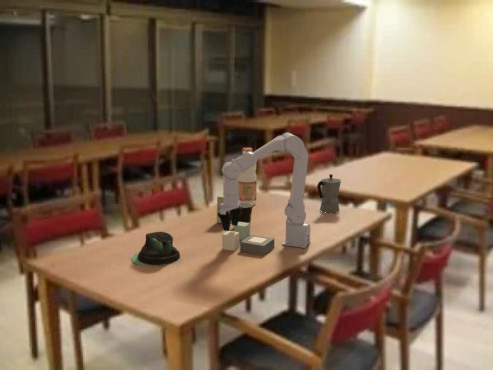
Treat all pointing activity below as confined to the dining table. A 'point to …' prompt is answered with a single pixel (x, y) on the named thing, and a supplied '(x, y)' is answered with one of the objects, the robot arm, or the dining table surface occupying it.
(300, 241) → the robot arm
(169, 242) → the dark fedora hat
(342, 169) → the dining table surface
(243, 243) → the charcoal base block
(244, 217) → the coffee mug
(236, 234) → the cream block
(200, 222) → the dining table surface
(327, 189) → the coffeepot
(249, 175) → the fruit juice
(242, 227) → the sage green block
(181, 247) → the dining table surface
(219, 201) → the skincare box
